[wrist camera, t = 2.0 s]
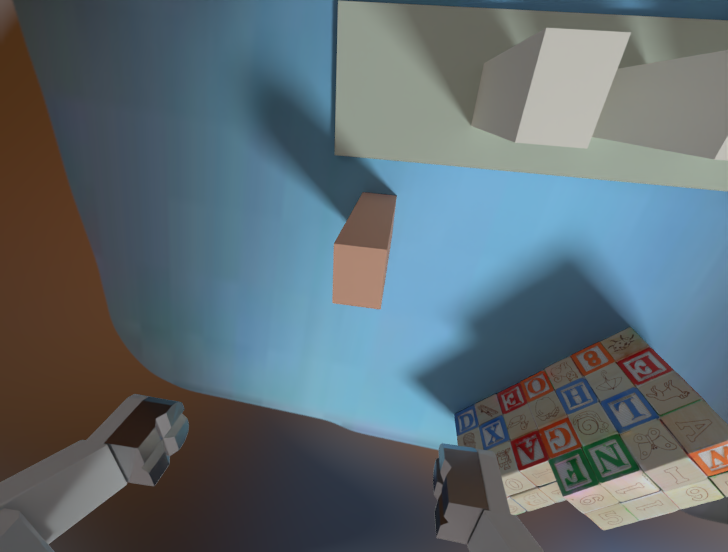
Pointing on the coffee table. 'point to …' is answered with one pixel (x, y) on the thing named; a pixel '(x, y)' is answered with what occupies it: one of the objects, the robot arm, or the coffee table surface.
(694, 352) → the coffee table surface
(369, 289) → the domino
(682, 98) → the domino
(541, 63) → the domino
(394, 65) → the mat
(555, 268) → the coffee table surface
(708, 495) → the stack of blocks
